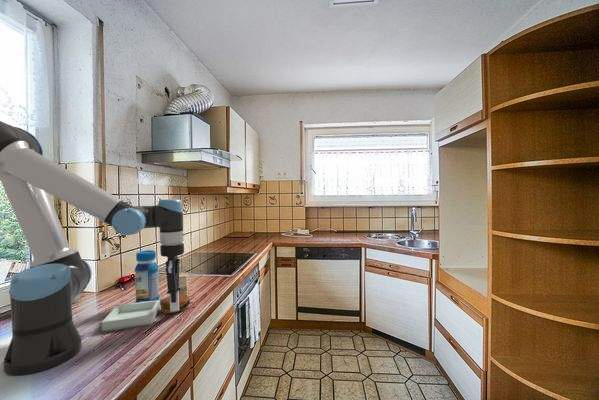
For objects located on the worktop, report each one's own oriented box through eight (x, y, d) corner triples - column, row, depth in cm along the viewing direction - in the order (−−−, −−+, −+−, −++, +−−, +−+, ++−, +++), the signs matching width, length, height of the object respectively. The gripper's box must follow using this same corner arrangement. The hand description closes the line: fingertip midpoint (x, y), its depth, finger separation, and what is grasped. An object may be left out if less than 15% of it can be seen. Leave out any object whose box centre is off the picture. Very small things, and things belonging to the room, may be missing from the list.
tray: (151, 324, 90) (151, 315, 90) (101, 331, 86) (101, 322, 86) (160, 307, 104) (160, 299, 104) (117, 313, 100) (117, 304, 100)
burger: (155, 313, 99) (154, 300, 99) (172, 303, 108) (172, 291, 108) (179, 315, 96) (178, 302, 96) (195, 305, 106) (194, 293, 105)
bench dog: (187, 297, 114) (186, 275, 113) (173, 298, 112) (173, 276, 112) (188, 293, 118) (187, 272, 118) (175, 294, 117) (175, 273, 117)
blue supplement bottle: (161, 302, 109) (159, 252, 108) (136, 308, 104) (134, 255, 103) (158, 296, 115) (156, 248, 115) (134, 301, 111) (132, 251, 110)
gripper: (181, 246, 91) (183, 316, 92) (186, 239, 104) (188, 302, 104) (155, 247, 89) (158, 320, 90) (164, 241, 102) (166, 304, 102)
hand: (174, 310), depth 97 cm, fingers closed
